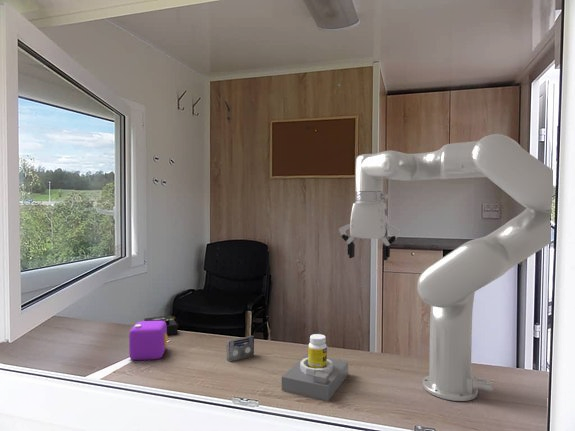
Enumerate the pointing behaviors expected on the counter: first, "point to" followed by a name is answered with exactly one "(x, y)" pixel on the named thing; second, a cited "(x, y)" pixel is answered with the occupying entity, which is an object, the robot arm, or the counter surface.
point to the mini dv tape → (240, 348)
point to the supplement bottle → (317, 351)
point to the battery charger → (169, 322)
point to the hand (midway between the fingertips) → (368, 258)
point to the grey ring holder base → (315, 378)
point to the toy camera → (148, 340)
